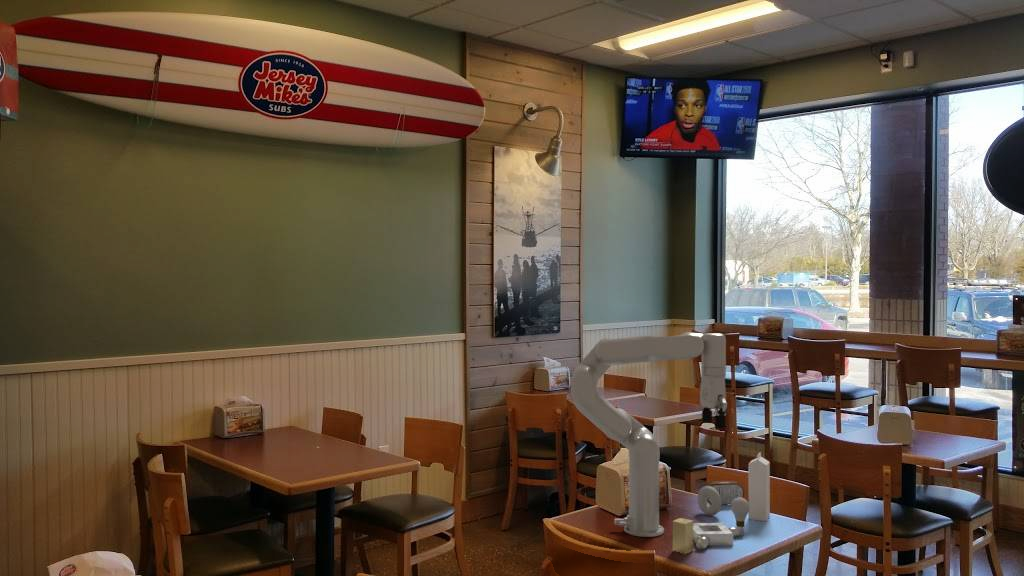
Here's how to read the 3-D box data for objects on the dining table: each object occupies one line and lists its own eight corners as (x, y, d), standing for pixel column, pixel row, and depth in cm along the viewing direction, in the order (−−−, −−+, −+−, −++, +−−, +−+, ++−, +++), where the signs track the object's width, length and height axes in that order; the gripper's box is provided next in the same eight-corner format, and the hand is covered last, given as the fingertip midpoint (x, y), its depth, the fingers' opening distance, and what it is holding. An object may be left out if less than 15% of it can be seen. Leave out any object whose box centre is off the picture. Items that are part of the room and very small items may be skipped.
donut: (723, 518, 271) (723, 488, 271) (716, 519, 269) (716, 490, 269) (702, 511, 279) (702, 482, 279) (695, 512, 277) (695, 483, 277)
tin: (741, 502, 290) (741, 479, 290) (745, 505, 287) (745, 481, 287) (702, 504, 288) (702, 481, 288) (705, 506, 285) (705, 483, 285)
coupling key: (672, 551, 237) (672, 521, 237) (680, 547, 241) (680, 517, 241) (685, 554, 234) (685, 524, 234) (693, 550, 238) (693, 520, 238)
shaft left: (701, 543, 244) (701, 533, 244) (710, 544, 243) (710, 535, 243) (695, 549, 239) (695, 539, 239) (705, 550, 237) (705, 540, 237)
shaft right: (726, 539, 248) (726, 529, 248) (721, 536, 251) (721, 527, 251) (743, 537, 250) (743, 528, 249) (738, 534, 252) (738, 525, 252)
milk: (748, 519, 269) (747, 454, 269) (752, 514, 275) (751, 450, 274) (767, 521, 266) (766, 456, 266) (770, 516, 272) (769, 452, 272)
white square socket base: (697, 545, 242) (697, 534, 242) (688, 534, 253) (688, 523, 253) (733, 545, 242) (733, 533, 242) (722, 533, 253) (722, 522, 253)
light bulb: (750, 531, 256) (750, 500, 256) (731, 530, 257) (731, 499, 257) (748, 526, 261) (748, 495, 261) (730, 525, 263) (730, 494, 263)
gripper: (691, 369, 262) (691, 421, 262) (714, 375, 245) (714, 430, 245) (713, 368, 263) (712, 420, 264) (736, 374, 246) (736, 429, 247)
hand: (713, 425), depth 254 cm, fingers open, 9 cm apart
